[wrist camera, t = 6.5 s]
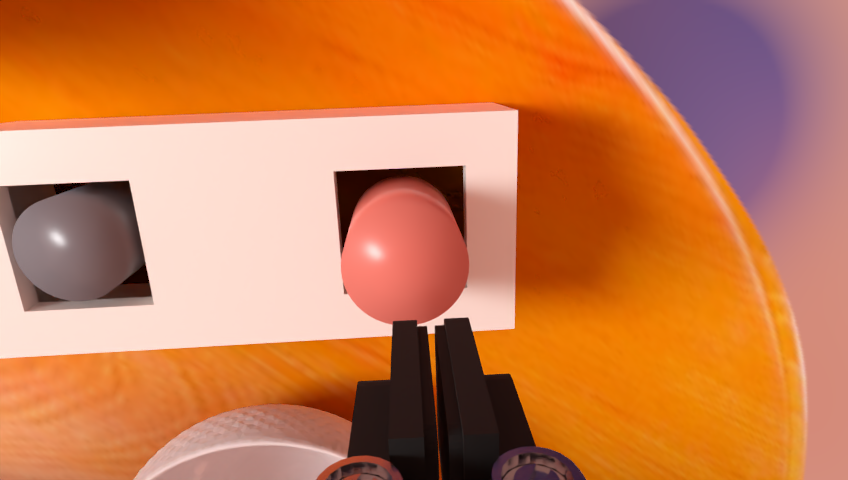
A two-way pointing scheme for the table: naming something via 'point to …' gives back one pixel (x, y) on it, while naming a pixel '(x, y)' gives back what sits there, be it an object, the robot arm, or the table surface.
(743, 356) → the table surface
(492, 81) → the table surface
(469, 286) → the box
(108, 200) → the grey rounded cylinder
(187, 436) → the cereal bowl
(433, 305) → the red plunger
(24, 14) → the table surface
